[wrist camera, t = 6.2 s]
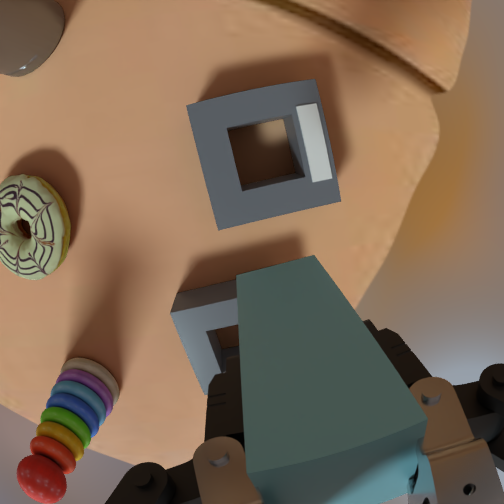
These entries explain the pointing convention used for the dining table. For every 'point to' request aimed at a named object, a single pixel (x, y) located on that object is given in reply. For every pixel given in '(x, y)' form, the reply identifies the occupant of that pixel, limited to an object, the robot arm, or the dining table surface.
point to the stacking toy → (67, 427)
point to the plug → (319, 394)
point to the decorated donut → (32, 227)
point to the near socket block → (300, 141)
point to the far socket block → (206, 327)
